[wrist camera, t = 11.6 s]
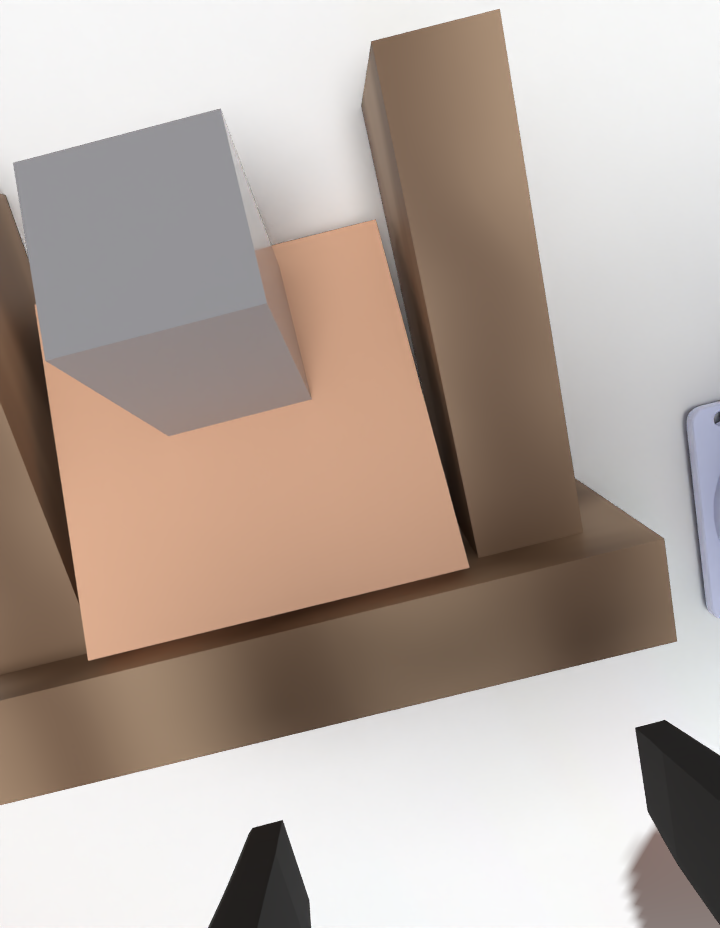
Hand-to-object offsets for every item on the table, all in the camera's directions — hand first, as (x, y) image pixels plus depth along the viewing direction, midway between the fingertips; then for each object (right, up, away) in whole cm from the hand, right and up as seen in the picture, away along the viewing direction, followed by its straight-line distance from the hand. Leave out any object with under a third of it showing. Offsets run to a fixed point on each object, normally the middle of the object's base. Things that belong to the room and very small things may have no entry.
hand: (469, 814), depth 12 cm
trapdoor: (-5, +8, +6) cm, 11 cm away
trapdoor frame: (-6, +9, +8) cm, 14 cm away
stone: (-6, +10, +5) cm, 13 cm away
